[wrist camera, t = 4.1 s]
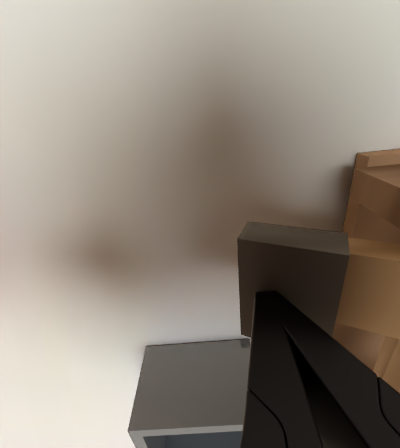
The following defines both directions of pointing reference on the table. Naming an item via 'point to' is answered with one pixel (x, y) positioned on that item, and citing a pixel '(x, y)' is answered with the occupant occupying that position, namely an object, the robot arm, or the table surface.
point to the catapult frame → (371, 231)
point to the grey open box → (191, 395)
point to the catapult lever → (326, 282)
